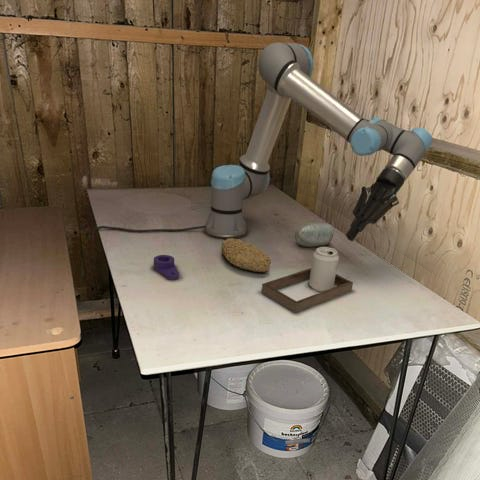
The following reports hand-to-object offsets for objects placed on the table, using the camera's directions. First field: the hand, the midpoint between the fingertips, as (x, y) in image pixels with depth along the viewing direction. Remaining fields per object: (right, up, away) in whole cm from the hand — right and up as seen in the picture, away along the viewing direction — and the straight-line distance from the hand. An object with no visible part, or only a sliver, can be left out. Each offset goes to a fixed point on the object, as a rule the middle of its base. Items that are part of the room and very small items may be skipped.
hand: (348, 238), depth 143 cm
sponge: (-31, -7, +13) cm, 34 cm away
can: (-8, -15, +2) cm, 17 cm away
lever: (-55, -10, +5) cm, 56 cm away
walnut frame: (-13, -16, -1) cm, 21 cm away
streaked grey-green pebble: (-6, +3, +31) cm, 32 cm away
